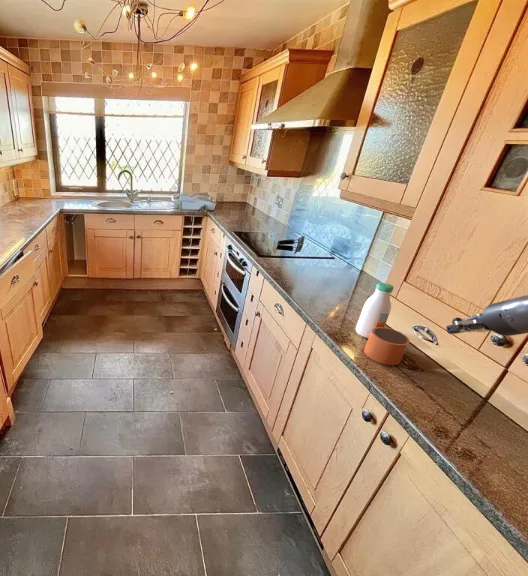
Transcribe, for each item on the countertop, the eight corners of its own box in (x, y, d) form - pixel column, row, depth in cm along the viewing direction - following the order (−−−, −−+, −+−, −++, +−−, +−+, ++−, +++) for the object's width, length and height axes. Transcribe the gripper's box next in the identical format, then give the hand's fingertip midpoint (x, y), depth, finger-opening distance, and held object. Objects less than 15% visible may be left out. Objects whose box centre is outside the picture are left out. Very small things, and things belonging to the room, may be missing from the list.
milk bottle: (362, 339, 110) (381, 290, 102) (350, 327, 117) (367, 280, 108) (385, 339, 110) (405, 290, 101) (371, 327, 117) (389, 280, 108)
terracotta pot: (392, 348, 106) (401, 329, 102) (406, 367, 97) (416, 347, 93) (359, 344, 108) (366, 325, 105) (370, 362, 100) (378, 342, 96)
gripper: (548, 298, 66) (471, 316, 83) (484, 298, 67) (420, 316, 83) (563, 332, 64) (480, 344, 80) (496, 332, 64) (427, 344, 81)
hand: (449, 330), depth 82 cm, fingers closed
